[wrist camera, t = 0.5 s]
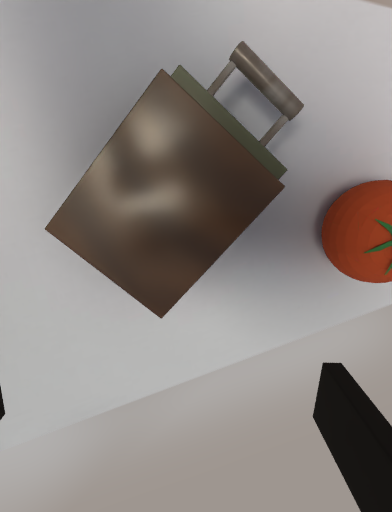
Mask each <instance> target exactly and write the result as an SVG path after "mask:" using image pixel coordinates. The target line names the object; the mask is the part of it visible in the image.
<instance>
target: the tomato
mask: <svg viewBox="0 0 392 512" xmlns="http://www.w3.org/2000/svg"><path fill="white" fill-rule="evenodd" d="M321 237H322V243H323V248H324V251H325V253H326V255H327V257H328V258H329V260H330V261H331V263H332V264H333V265H334V266H335V267H336V268H337V269H338V270H339V271H340V272H342V273H344V274H345V275H347V276H349V277H351V278H353V279H356V280H359V281H363V282H371V283H386V282H390V281H392V181H391V180H378V181H370V182H366V183H362V184H360V185H358V186H355V187H353V188H351V189H350V190H348V191H347V192H345V193H344V194H342V195H341V196H340V197H339V198H338V199H337V200H336V201H335V202H334V203H333V204H332V205H331V207H330V208H329V210H328V211H327V214H326V216H325V218H324V221H323V225H322V234H321Z"/></svg>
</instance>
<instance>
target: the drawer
mask: <svg viewBox="0 0 392 512" xmlns="http://www.w3.org/2000/svg"><path fill="white" fill-rule="evenodd" d="M229 60H230V62H229V63H228V64H227V66H226V67H225V68H224V69H223V71H222V72H221V73H220V75H219V76H218V77H217V78H216V80H215V81H214V82H213V83H212V85H211V86H210V87H209V89H208V90H205V89H204V88H203V87H202V86H201V85H200V84H199V83H198V82H197V81H196V80H195V79H194V78H193V77H192V76H191V75H190V74H189V73H188V72H187V71H186V70H185V69H184V68H183V67H182V66H181V65H179V66H178V67H177V69H176V70H175V71H174V73H173V74H172V75H171V77H172V78H173V79H174V80H175V81H176V82H177V83H178V84H179V85H180V86H181V87H182V88H183V89H184V90H185V91H186V92H187V93H188V94H189V95H190V96H191V97H192V98H193V99H194V100H195V101H197V102H198V103H199V104H200V105H201V106H202V107H203V108H204V109H205V110H206V111H207V112H208V113H209V114H210V115H211V116H212V117H213V118H214V119H215V120H216V121H217V122H218V123H219V124H221V125H222V126H223V127H224V128H225V129H226V130H227V131H228V132H229V133H230V134H231V135H232V136H233V137H234V138H235V139H236V140H237V141H238V142H239V143H240V144H241V145H242V146H243V147H244V148H246V149H247V150H248V151H249V152H250V153H251V154H252V155H253V156H254V157H255V158H256V159H257V160H258V161H259V162H260V163H261V164H262V165H263V166H264V167H265V168H266V169H267V170H268V171H269V172H271V173H272V174H273V175H274V176H275V177H276V178H277V179H278V180H279V179H280V177H281V176H282V175H283V174H284V173H285V172H286V171H287V169H286V168H285V167H284V166H283V165H282V164H281V163H280V162H279V161H278V160H277V159H276V158H275V157H274V156H273V155H272V154H271V153H270V152H269V151H268V150H267V149H266V148H265V146H266V144H267V143H268V142H269V141H270V140H271V139H272V138H273V136H274V135H275V134H276V133H277V132H278V131H279V130H280V129H281V127H282V126H283V125H284V124H285V123H286V122H287V121H288V120H289V121H290V120H292V119H293V118H294V117H295V116H296V115H297V114H298V113H299V112H300V111H301V109H302V108H303V107H304V104H303V103H302V102H301V101H300V100H299V99H298V98H297V97H296V96H295V95H294V94H293V93H292V92H291V91H290V89H289V88H288V87H287V86H286V85H285V84H284V83H283V82H282V81H281V80H280V79H279V78H278V77H277V76H276V75H275V74H274V73H273V72H272V71H271V70H270V69H269V68H268V66H267V65H266V64H265V63H264V62H263V61H262V60H261V59H260V58H259V57H258V56H257V55H256V54H255V53H254V52H253V51H252V50H251V49H250V48H249V47H248V46H247V45H246V44H245V42H244V41H242V42H240V43H239V45H238V46H237V47H236V48H235V50H234V51H233V53H232V54H231V56H230V58H229ZM235 67H237V68H238V69H239V70H240V71H241V72H242V73H243V75H244V76H245V77H246V78H247V79H248V80H249V81H250V82H251V83H252V84H253V85H254V86H255V87H256V88H257V89H258V90H259V91H260V92H261V93H262V94H263V95H264V96H265V97H266V98H267V99H268V100H269V101H270V102H271V103H272V104H273V105H274V106H275V107H276V108H277V109H278V110H279V111H280V112H281V113H282V114H283V115H282V116H281V117H280V118H279V119H278V120H277V122H276V123H275V124H274V125H273V126H272V127H271V128H270V130H269V131H268V132H267V133H266V134H265V135H264V136H263V138H262V139H261V140H260V141H258V140H257V139H256V138H255V137H254V136H253V135H252V134H251V133H250V132H249V131H248V130H246V129H245V128H244V127H243V126H242V125H241V124H240V123H239V122H238V121H237V120H236V119H235V118H234V117H233V116H232V115H231V114H230V113H229V112H228V111H227V110H226V109H225V108H224V107H223V106H222V105H221V104H220V103H219V102H218V101H217V100H216V99H215V98H214V97H213V95H214V94H215V93H216V92H217V90H218V89H219V88H220V87H221V85H222V84H223V83H224V82H225V80H226V79H227V78H228V77H229V75H230V74H231V73H232V72H233V70H234V69H235Z"/></svg>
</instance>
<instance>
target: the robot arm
mask: <svg viewBox="0 0 392 512" xmlns="http://www.w3.org/2000/svg"><path fill="white" fill-rule="evenodd" d="M4 415H5V410H4V404H3V399H2V393H1V387H0V420H1V419H2V417H3V416H4ZM313 418H314V420H315V422H316V424H317V426H318V428H319V430H320V432H321V434H322V436H323V438H324V440H325V442H326V444H327V446H328V448H329V450H330V452H331V453H332V456H333V458H334V460H335V462H336V463H337V465H338V467H339V469H340V471H341V473H342V475H343V477H344V479H345V481H346V483H347V485H348V487H349V489H350V491H351V493H352V495H353V497H354V499H355V501H356V503H357V505H358V507H359V509H360V511H361V512H392V426H391V425H390V424H389V422H388V421H387V420H386V419H385V418H384V416H383V415H382V414H381V413H380V411H379V410H378V409H377V407H376V406H375V405H374V404H373V402H372V401H371V400H370V399H369V397H368V396H367V395H366V394H365V392H364V391H363V390H362V389H361V387H360V386H359V385H358V384H357V382H356V381H355V380H354V379H353V377H352V376H351V375H350V374H349V372H348V371H347V370H346V368H345V367H344V366H343V365H342V363H323V365H322V370H321V376H320V381H319V387H318V392H317V397H316V402H315V408H314V413H313Z"/></svg>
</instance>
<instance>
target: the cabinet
mask: <svg viewBox="0 0 392 512" xmlns="http://www.w3.org/2000/svg"><path fill="white" fill-rule="evenodd" d="M284 187H285V186H284V185H283V184H282V183H281V182H280V181H279V180H278V179H277V178H276V177H275V176H274V175H273V174H272V173H271V172H269V171H268V170H267V169H266V168H265V167H264V166H263V165H262V164H261V163H260V162H259V161H258V160H257V159H256V158H255V157H254V156H253V155H252V154H251V153H250V152H249V151H248V150H247V149H246V148H244V147H243V146H242V145H241V144H240V143H239V142H238V141H237V140H236V139H235V138H234V137H233V136H232V135H231V134H230V133H229V132H228V131H227V130H226V129H225V128H224V127H223V126H222V125H221V124H219V123H218V122H217V121H216V120H215V119H214V118H213V117H212V116H211V115H210V114H209V113H208V112H207V111H206V110H205V109H204V108H203V107H202V106H201V105H200V104H199V103H198V102H197V101H195V100H194V99H193V98H192V97H191V96H190V95H189V94H188V93H187V92H186V91H185V90H184V89H183V88H182V87H181V86H180V85H179V84H178V83H177V82H176V81H175V80H174V79H173V78H172V77H170V76H169V75H168V74H167V73H166V72H165V71H164V70H163V69H161V70H160V71H159V73H158V74H157V75H156V77H155V78H154V80H153V81H152V82H151V84H150V85H149V86H148V88H147V89H146V91H145V92H144V93H143V95H142V96H141V97H140V99H139V100H138V102H137V103H136V104H135V106H134V107H133V108H132V110H131V111H130V112H129V114H128V115H127V117H126V118H125V119H124V121H123V122H122V123H121V125H120V126H119V128H118V129H117V130H116V132H115V133H114V134H113V136H112V137H111V139H110V140H109V141H108V143H107V144H106V145H105V147H104V148H103V149H102V151H101V152H100V154H99V155H98V156H97V158H96V159H95V160H94V162H93V163H92V165H91V166H90V167H89V169H88V170H87V171H86V173H85V174H84V176H83V177H82V178H81V180H80V181H79V182H78V184H77V185H76V187H75V188H74V189H73V191H72V192H71V193H70V195H69V196H68V197H67V199H66V200H65V202H64V203H63V204H62V206H61V207H60V208H59V210H58V211H57V213H56V214H55V215H54V217H53V218H52V219H51V221H50V222H49V224H48V225H47V226H46V228H45V230H47V231H48V232H49V233H51V234H52V235H53V236H54V237H56V238H57V239H58V240H60V241H61V242H62V243H64V244H65V245H66V246H67V247H69V248H70V249H71V250H73V251H74V252H75V253H77V254H78V255H79V256H80V257H82V258H83V259H84V260H86V261H87V262H88V263H90V264H91V265H92V266H93V267H95V268H96V269H97V270H99V271H100V272H101V273H103V274H104V275H105V276H106V277H108V278H109V279H110V280H112V281H113V282H114V283H116V284H117V285H118V286H119V287H121V288H122V289H123V290H125V291H126V292H127V293H129V294H130V295H131V296H132V297H134V298H135V299H136V300H138V301H139V302H140V303H142V304H143V305H144V306H145V307H147V308H148V309H149V310H151V311H152V312H153V313H155V314H156V315H157V316H158V317H160V318H163V316H164V315H165V314H166V313H167V312H168V311H169V310H170V309H171V308H172V307H173V306H174V305H175V304H176V303H177V302H178V300H179V299H180V298H181V297H182V296H183V295H184V294H185V293H186V292H187V291H188V290H189V289H190V288H191V287H192V286H193V284H194V283H195V282H196V281H197V280H198V279H199V278H200V277H201V276H202V275H203V274H204V273H205V272H206V271H207V270H208V269H209V267H210V266H211V265H212V264H213V263H214V262H215V261H216V260H217V259H218V258H219V257H220V256H221V255H222V254H223V253H224V251H225V250H226V249H227V248H228V247H229V246H230V245H231V244H232V243H233V242H234V241H235V240H236V239H237V238H238V237H239V235H240V234H241V233H242V232H243V231H244V230H245V229H246V228H247V227H248V226H249V225H250V224H251V223H252V222H253V221H254V219H255V218H256V217H257V216H258V215H259V214H260V213H261V212H262V211H263V210H264V209H265V208H266V207H267V206H268V205H269V203H270V202H271V201H272V200H273V199H274V198H275V197H276V196H277V195H278V194H279V193H280V192H281V191H282V190H283V189H284Z"/></svg>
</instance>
